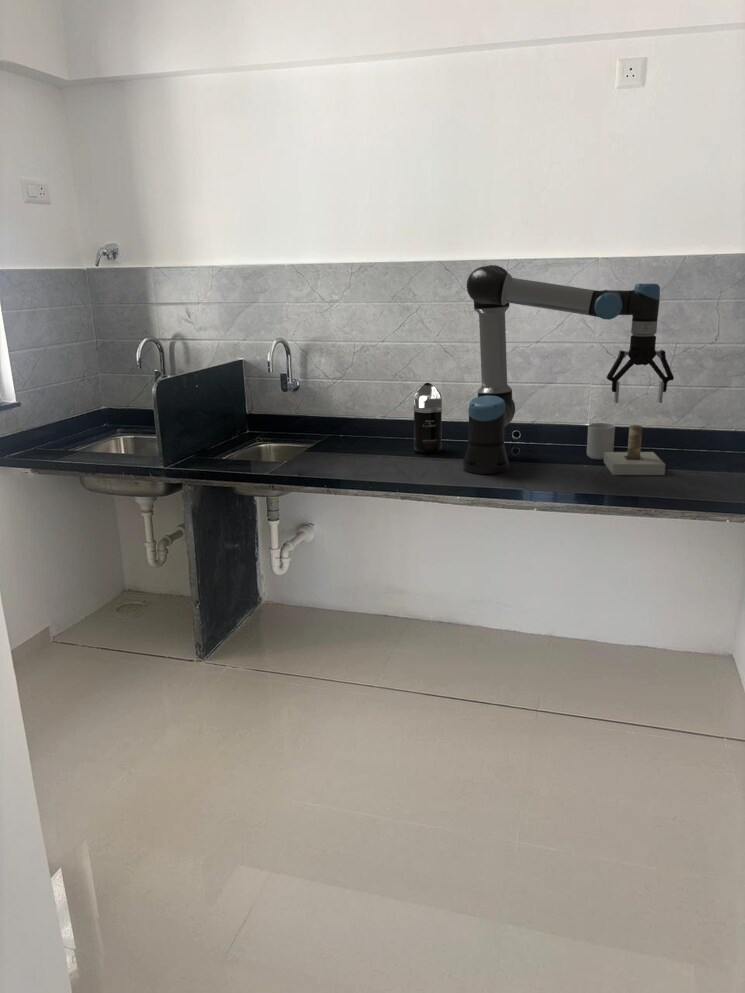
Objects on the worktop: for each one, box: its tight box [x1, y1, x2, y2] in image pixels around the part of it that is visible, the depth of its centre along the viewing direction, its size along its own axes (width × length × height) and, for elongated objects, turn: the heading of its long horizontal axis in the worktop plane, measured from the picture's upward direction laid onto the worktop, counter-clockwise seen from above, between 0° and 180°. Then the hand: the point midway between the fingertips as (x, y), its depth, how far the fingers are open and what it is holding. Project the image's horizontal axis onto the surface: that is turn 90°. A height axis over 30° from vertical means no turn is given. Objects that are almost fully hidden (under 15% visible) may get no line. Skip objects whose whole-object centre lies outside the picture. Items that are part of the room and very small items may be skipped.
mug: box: [586, 422, 616, 461], centre depth 271 cm, size 12×9×11 cm
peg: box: [626, 424, 643, 460], centre depth 254 cm, size 4×4×14 cm
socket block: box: [603, 451, 666, 476], centre depth 256 cm, size 16×16×4 cm
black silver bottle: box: [413, 382, 443, 454], centre depth 281 cm, size 10×10×25 cm
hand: (637, 402), depth 250 cm, fingers open, 13 cm apart
